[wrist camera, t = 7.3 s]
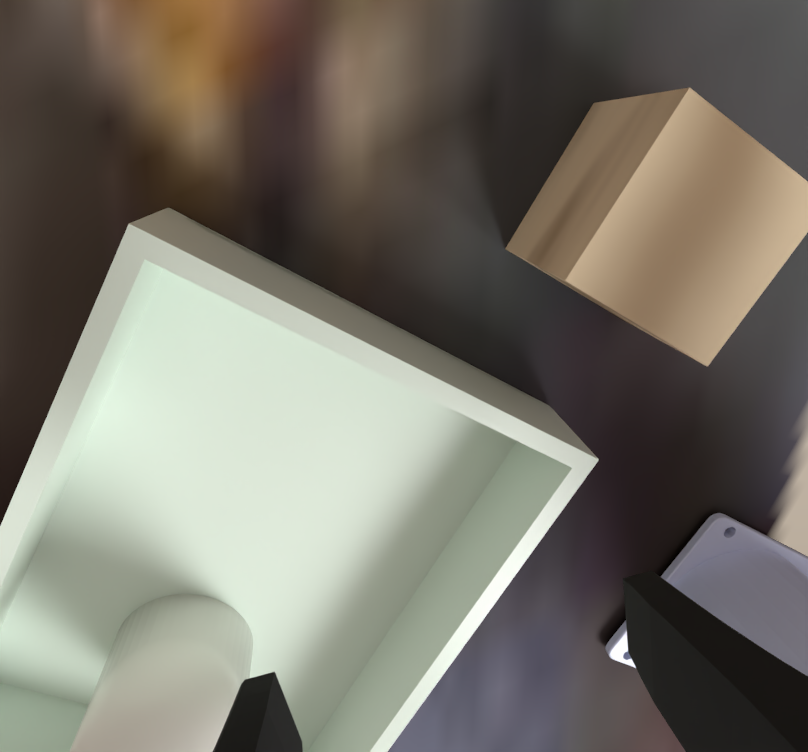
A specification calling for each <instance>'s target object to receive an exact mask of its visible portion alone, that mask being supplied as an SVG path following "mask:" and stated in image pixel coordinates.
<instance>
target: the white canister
mask: <svg viewBox="0 0 808 752" xmlns="http://www.w3.org/2000/svg"><path fill="white" fill-rule="evenodd" d="M252 655H253V636H252V633H251V630H250V628H249V625H248V624H247V622H246V621H245V619H244V618H243V617H242V616H241V615H240V614H239V613H238V612H237V611H236V610H235V609H233V608H232V607H230V606H229V605H227V604H225V603H223V602H221V601H219V600H216V599H213V598H210V597H206V596H202V595H194V594H178V595H170V596H164V597H161V598H158V599H154V600H152V601H150V602H147V603H145V604H144V605H142V606H140V607H138V608H137V609H136V610H134V611H133V612H132V613H131V614H130V615H129V616H128V617H127V618H126V619H125V620H124V622H123V623H122V625H121V627H120V628H119V630H118V633H117V635H116V638H115V640H114V643H113V645H112V648H111V650H110V653H109V655H108V657H107V660H106V662H105V665H104V667H103V670H102V672H101V675H100V677H99V680H98V682H97V685H96V687H95V690H94V692H93V695H92V697H91V699H90V702H89V704H88V707H87V709H86V712H85V714H84V717H83V719H82V722H81V724H80V727H79V729H78V732H77V734H76V737H75V739H74V741H73V744H72V746H71V749H70V751H69V752H213V750H214V747H215V745H216V743H217V741H218V738H219V736H220V734H221V731H222V729H223V727H224V724H225V722H226V720H227V717H228V715H229V712H230V710H231V708H232V705H233V703H234V700H235V698H236V695H237V693H238V690H239V688H240V685H241V684H242V683H243V681H244V680H245V679H249V678H250V671H251V663H252Z"/></svg>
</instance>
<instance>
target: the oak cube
mask: <svg viewBox="0 0 808 752" xmlns="http://www.w3.org/2000/svg"><path fill="white" fill-rule="evenodd" d="M807 232H808V182H807V181H806V180H805V179H804V178H802V177H801V176H800V175H799V174H797V173H796V172H795V171H794V170H792V169H791V168H790V167H789V166H787V165H786V164H785V163H784V162H782V161H781V160H780V159H779V158H777V157H776V156H775V155H774V154H772V153H771V152H770V151H769V150H767V149H766V148H765V147H764V146H762V145H761V144H760V143H758V142H757V141H756V140H755V139H753V138H752V137H751V136H750V135H748V134H747V133H746V132H745V131H743V130H742V129H741V128H740V127H738V126H737V125H736V124H735V123H733V122H732V121H731V120H730V119H728V118H727V117H726V116H725V115H723V114H722V113H721V112H720V111H718V110H717V109H716V108H715V107H713V106H712V105H711V104H710V103H708V102H707V101H706V100H704V99H703V98H702V97H701V96H699V95H698V94H697V93H696V92H694V91H693V90H692V89H691V88H684V89H678V90H672V91H666V92H659V93H653V94H647V95H640V96H634V97H628V98H622V99H615V100H609V101H603V102H597V103H593V105H592V107H591V108H590V110H589V112H588V113H587V115H586V117H585V118H584V120H583V121H582V123H581V125H580V126H579V128H578V130H577V131H576V133H575V135H574V136H573V138H572V140H571V141H570V143H569V145H568V146H567V148H566V149H565V151H564V153H563V154H562V156H561V158H560V159H559V161H558V163H557V164H556V166H555V168H554V169H553V171H552V173H551V174H550V176H549V177H548V179H547V181H546V182H545V184H544V186H543V187H542V189H541V191H540V192H539V194H538V196H537V197H536V199H535V201H534V202H533V204H532V205H531V207H530V209H529V210H528V212H527V214H526V215H525V217H524V219H523V220H522V222H521V224H520V225H519V227H518V229H517V230H516V232H515V233H514V235H513V237H512V238H511V240H510V242H509V243H508V245H507V247H506V248H505V249H506V250H508V251H509V252H511V253H513V254H514V255H516V256H518V257H519V258H521V259H523V260H524V261H526V262H528V263H529V264H531V265H533V266H534V267H536V268H538V269H539V270H541V271H543V272H544V273H546V274H548V275H549V276H551V277H552V278H554V279H556V280H557V281H559V282H561V283H562V284H564V285H566V286H567V287H569V288H571V289H572V290H574V291H576V292H577V293H579V294H581V295H582V296H584V297H586V298H587V299H589V300H591V301H592V302H594V303H596V304H597V305H599V306H601V307H602V308H604V309H606V310H607V311H609V312H611V313H612V314H614V315H615V316H617V317H619V318H620V319H622V320H624V321H626V322H628V323H629V324H631V325H633V326H635V327H637V328H638V329H640V330H642V331H644V332H646V333H647V334H649V335H651V336H653V337H655V338H656V339H658V340H660V341H662V342H664V343H665V344H667V345H669V346H671V347H673V348H674V349H676V350H678V351H680V352H682V353H683V354H685V355H687V356H689V357H691V358H692V359H694V360H696V361H698V362H700V363H701V364H703V365H705V366H707V367H708V365H709V364H710V363H711V361H712V360H713V359H714V357H715V356H716V355H717V353H718V352H719V351H720V349H721V348H722V347H723V345H724V344H725V342H726V341H727V340H728V338H729V337H730V336H731V334H732V333H733V332H734V330H735V329H736V328H737V326H738V325H739V324H740V322H741V321H742V320H743V318H744V317H745V316H746V314H747V313H748V312H749V310H750V309H751V308H752V306H753V305H754V304H755V302H756V301H757V300H758V298H759V297H760V295H761V294H762V293H763V291H764V290H765V289H766V287H767V286H768V285H769V283H770V282H771V281H772V279H773V278H774V277H775V275H776V274H777V273H778V271H779V270H780V269H781V267H782V266H783V265H784V263H785V262H786V261H787V259H788V258H789V257H790V255H791V254H792V253H793V251H794V250H795V249H796V247H797V246H798V244H799V243H800V242H801V240H802V239H803V238H804V236H805V235H806V234H807Z"/></svg>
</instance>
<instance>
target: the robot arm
mask: <svg viewBox="0 0 808 752" xmlns="http://www.w3.org/2000/svg"><path fill="white" fill-rule="evenodd" d="M726 529H728V530H726ZM725 530H726V531H725ZM623 585H624V599H625V613H626V620H625V622H624V623H623V624H622V625H621V627H620V628H619V629H618V630H617V631H616V633H615V634H614V635H613V636H612V638H611V639H610V640H609V641H608V643H607V645H606V651H607V653H608V655H609V656H610V658H612V659H614V660H616V661H619V662H622V663H624V664H627V665H630V666H632V667H635V668H636V669H637V671H638V673H639V675H640V677H641V679H642V680H643V682H644V684H645V686H646V688H647V690H648V692H649V694H650V696H651V698H652V699H653V701H654V703H655V705H656V706H657V708H658V709H659V711H660V713H661V714H662V716H663V717H664V719H665V720H666V722H667V723H668V725H669V726H670V728H671V729H672V731H673V733H674V734H675V736H676V737H677V739H678V740H679V742H680V743H681V745H682V746H683V748H684V749H685V751H686V752H808V557H807V556H805V555H803V554H801V553H800V552H797V551H796V550H794V549H792V548H790V547H788V546H786V545H784V544H782V543H780V542H778V541H776V540H774V539H772V538H770V537H768V536H766V535H764V534H762V533H760V532H758V531H756V530H754V529H752V528H750V527H748V526H746V525H744V524H742V523H741V522H739V521H737V520H735V519H733V518H731V517H729V516H727V515H725V514H722V513H716V514H713V515H711V516H710V517H709V518H708V519H707V520H706V521H705V522H704V524H703V525H702V526H701V527H700V529H699V530H698V531H697V532H696V534H695V535H694V536H693V537H692V539H691V540H690V541H689V542H688V543H687V545H686V546H685V547H684V548H683V550H682V551H681V552H680V553H679V555H678V556H677V557H676V558H675V560H674V561H673V562H672V563H671V565H670V566H669V567H668V568H667V570H666V571H665V572H664V573H663V574H662V576H661V577H660V576H658V575H657V574H656V573H654V572H652V571H650V572H646V573H642V574H638V575H635V576H631V577H627V578H623ZM213 752H303V747H302V740H301V737H300V735H299V732H298V730H297V727H296V724H295V722H294V719H293V717H292V714H291V712H290V709H289V707H288V704H287V701H286V699H285V696H284V694H283V691H282V689H281V686H280V684H279V681H278V678H277V676H276V673H275V672H272V673H268V674H264V675H260V676H257V677H253V678H249V679H245V680H244V681H243V683H242V684H241V685H240V688H239V690H238V693H237V695H236V698H235V700H234V703H233V705H232V708H231V710H230V712H229V715H228V717H227V720H226V722H225V724H224V727H223V729H222V731H221V734H220V736H219V738H218V741H217V743H216V745H215V747H214V750H213Z"/></svg>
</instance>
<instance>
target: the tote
mask: <svg viewBox="0 0 808 752" xmlns="http://www.w3.org/2000/svg"><path fill="white" fill-rule="evenodd" d="M598 461H599V459H598V458H597V457H596V456H595V455H594V454H593V452H592V451H591V450H590V449H589V448H588V447H587V446H586V445H585V444H584V443H583V442H582V440H581V439H580V438H579V437H578V436H577V435H576V434H575V433H574V432H573V431H572V430H571V428H570V427H569V426H568V425H567V424H566V423H565V422H564V421H563V420H562V419H561V418H560V416H559V415H558V414H557V413H556V412H555V411H554V410H553V409H552V408H551V407H550V406H549V405H547V404H545V403H543V402H541V401H540V400H538V399H536V398H534V397H532V396H530V395H528V394H526V393H524V392H522V391H520V390H518V389H517V388H515V387H513V386H511V385H509V384H507V383H505V382H503V381H501V380H499V379H497V378H495V377H493V376H492V375H490V374H488V373H486V372H484V371H482V370H480V369H478V368H476V367H474V366H472V365H470V364H469V363H467V362H465V361H463V360H461V359H459V358H457V357H455V356H453V355H451V354H449V353H447V352H445V351H444V350H442V349H440V348H438V347H436V346H434V345H432V344H430V343H428V342H426V341H424V340H422V339H421V338H419V337H417V336H415V335H413V334H411V333H409V332H407V331H405V330H403V329H401V328H399V327H397V326H396V325H394V324H392V323H390V322H388V321H386V320H384V319H382V318H380V317H378V316H376V315H374V314H372V313H371V312H369V311H367V310H365V309H363V308H361V307H359V306H357V305H355V304H353V303H351V302H349V301H348V300H346V299H344V298H342V297H340V296H338V295H336V294H334V293H332V292H330V291H328V290H326V289H324V288H323V287H321V286H319V285H317V284H315V283H313V282H311V281H309V280H307V279H305V278H303V277H301V276H300V275H298V274H296V273H294V272H292V271H290V270H288V269H286V268H284V267H282V266H280V265H278V264H276V263H275V262H273V261H271V260H269V259H267V258H265V257H263V256H261V255H259V254H257V253H255V252H253V251H252V250H250V249H248V248H246V247H244V246H242V245H240V244H238V243H236V242H234V241H232V240H230V239H228V238H227V237H225V236H223V235H221V234H219V233H217V232H215V231H213V230H211V229H209V228H207V227H205V226H204V225H202V224H200V223H198V222H196V221H194V220H192V219H190V218H188V217H186V216H184V215H182V214H180V213H179V212H177V211H175V210H173V209H171V208H169V207H168V208H166V209H163V210H161V211H158V212H156V213H153V214H151V215H148V216H146V217H144V218H141V219H139V220H136V221H134V222H131V223H129V224H128V227H127V229H126V231H125V234H124V236H123V238H122V241H121V243H120V245H119V248H118V250H117V253H116V255H115V257H114V260H113V262H112V264H111V267H110V269H109V271H108V274H107V276H106V278H105V281H104V283H103V285H102V288H101V290H100V293H99V295H98V297H97V300H96V302H95V304H94V307H93V309H92V311H91V314H90V316H89V318H88V321H87V323H86V326H85V328H84V330H83V333H82V335H81V337H80V340H79V342H78V344H77V347H76V349H75V351H74V354H73V356H72V358H71V361H70V363H69V366H68V368H67V370H66V373H65V375H64V377H63V380H62V382H61V384H60V387H59V389H58V391H57V394H56V396H55V399H54V401H53V403H52V406H51V408H50V410H49V413H48V415H47V417H46V420H45V422H44V424H43V427H42V429H41V431H40V434H39V436H38V439H37V441H36V443H35V446H34V448H33V450H32V453H31V455H30V457H29V460H28V462H27V464H26V467H25V469H24V472H23V474H22V476H21V479H20V481H19V483H18V486H17V488H16V490H15V493H14V495H13V497H12V500H11V502H10V504H9V507H8V509H7V512H6V514H5V516H4V519H3V521H2V523H1V526H0V752H69V751H70V749H71V746H72V744H73V741H74V739H75V737H76V734H77V732H78V729H79V727H80V724H81V722H82V719H83V717H84V714H85V712H86V709H87V707H88V704H89V702H90V699H91V697H92V695H93V692H94V690H95V687H96V685H97V682H98V680H99V677H100V675H101V672H102V670H103V667H104V665H105V662H106V660H107V657H108V655H109V653H110V650H111V648H112V645H113V643H114V640H115V638H116V635H117V633H118V630H119V628H120V627H121V625H122V623H123V622H124V620H125V619H126V618H127V617H128V616H129V615H130V614H131V613H132V612H133V611H134V610H136V609H137V608H138V607H140V606H142V605H144V604H145V603H147V602H150V601H152V600H154V599H158V598H161V597H164V596H170V595H178V594H194V595H202V596H206V597H210V598H213V599H216V600H219V601H221V602H223V603H225V604H227V605H229V606H230V607H232V608H233V609H235V610H236V611H237V612H238V613H239V614H240V615H241V616H242V617H243V618H244V619H245V621H246V622H247V624H248V625H249V628H250V630H251V633H252V636H253V655H252V663H251V671H250V678H253V677H257V676H260V675H264V674H268V673H272V672H275V673H276V676H277V678H278V681H279V684H280V686H281V689H282V691H283V694H284V696H285V699H286V701H287V704H288V707H289V709H290V712H291V714H292V717H293V719H294V722H295V724H296V727H297V730H298V732H299V735H300V737H301V740H302V747H303V752H388V750H389V749H390V747H391V746H392V745H393V743H394V742H395V741H396V739H397V738H398V736H399V735H400V734H401V732H402V731H403V730H404V728H405V727H406V725H407V724H408V723H409V721H410V720H411V718H412V717H413V716H414V714H415V713H416V712H417V710H418V709H419V707H420V706H421V705H422V703H423V702H424V701H425V699H426V698H427V696H428V695H429V694H430V692H431V691H432V690H433V688H434V687H435V685H436V684H437V683H438V681H439V680H440V678H441V677H442V676H443V674H444V673H445V672H446V670H447V669H448V667H449V666H450V665H451V663H452V662H453V661H454V659H455V658H456V656H457V655H458V654H459V652H460V651H461V650H462V648H463V647H464V645H465V644H466V643H467V641H468V640H469V638H470V637H471V636H472V634H473V633H474V632H475V630H476V629H477V627H478V626H479V625H480V623H481V622H482V621H483V619H484V618H485V616H486V615H487V614H488V612H489V611H490V609H491V608H492V607H493V605H494V604H495V603H496V601H497V600H498V598H499V597H500V596H501V594H502V593H503V592H504V590H505V589H506V587H507V586H508V585H509V583H510V582H511V581H512V579H513V578H514V576H515V575H516V574H517V572H518V571H519V569H520V568H521V567H522V565H523V564H524V563H525V561H526V560H527V558H528V557H529V556H530V554H531V553H532V552H533V550H534V549H535V547H536V546H537V545H538V543H539V542H540V541H541V539H542V538H543V536H544V535H545V534H546V532H547V531H548V529H549V528H550V527H551V525H552V524H553V523H554V521H555V520H556V518H557V517H558V516H559V514H560V513H561V512H562V510H563V509H564V507H565V506H566V505H567V503H568V502H569V501H570V499H571V498H572V496H573V495H574V494H575V492H576V491H577V489H578V488H579V487H580V485H581V484H582V483H583V481H584V480H585V478H586V477H587V476H588V474H589V473H590V472H591V470H592V469H593V467H594V466H595V465H596V463H597V462H598Z"/></svg>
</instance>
